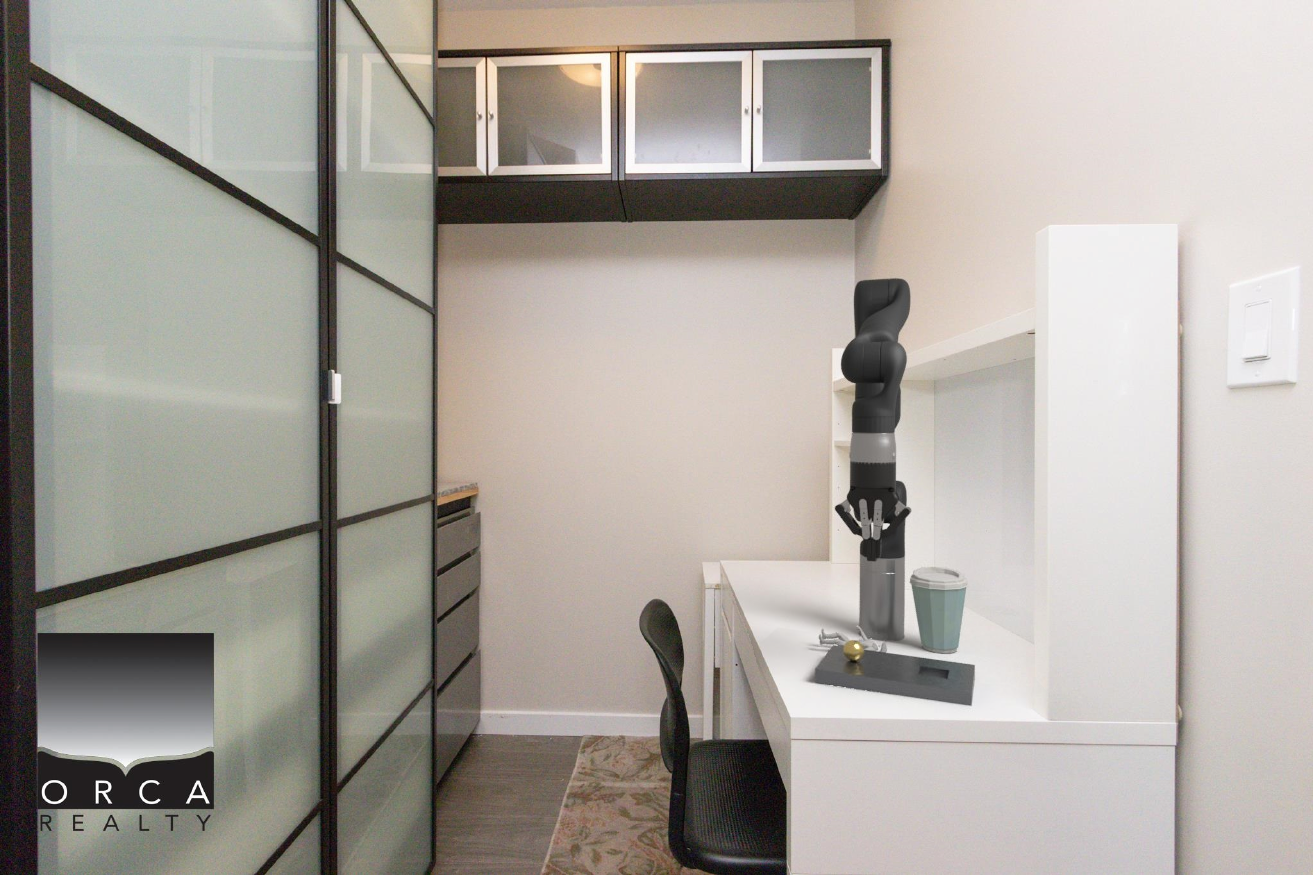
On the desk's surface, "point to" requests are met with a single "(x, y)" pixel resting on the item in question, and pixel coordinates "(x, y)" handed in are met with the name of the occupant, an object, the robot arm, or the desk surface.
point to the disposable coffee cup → (939, 607)
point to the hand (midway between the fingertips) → (872, 560)
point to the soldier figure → (844, 639)
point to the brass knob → (853, 650)
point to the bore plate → (899, 675)
